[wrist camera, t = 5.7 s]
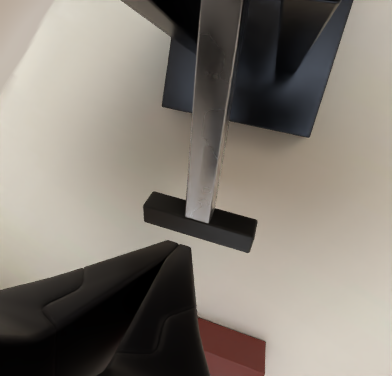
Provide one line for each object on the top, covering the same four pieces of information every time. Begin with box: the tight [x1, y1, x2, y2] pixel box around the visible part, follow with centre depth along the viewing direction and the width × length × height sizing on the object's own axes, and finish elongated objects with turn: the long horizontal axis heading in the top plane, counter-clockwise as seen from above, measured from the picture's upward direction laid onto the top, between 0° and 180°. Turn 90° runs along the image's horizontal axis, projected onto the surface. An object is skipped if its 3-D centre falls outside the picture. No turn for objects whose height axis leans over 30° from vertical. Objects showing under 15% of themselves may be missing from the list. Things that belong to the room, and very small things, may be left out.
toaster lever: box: [143, 0, 257, 253], centre depth 9 cm, size 12×5×2 cm, turn 169°
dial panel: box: [198, 318, 266, 376], centre depth 20 cm, size 13×10×3 cm
